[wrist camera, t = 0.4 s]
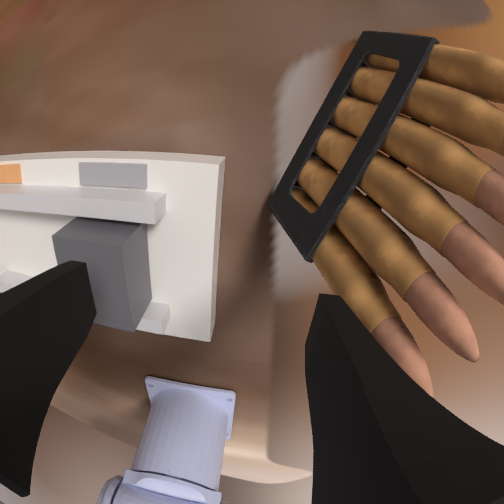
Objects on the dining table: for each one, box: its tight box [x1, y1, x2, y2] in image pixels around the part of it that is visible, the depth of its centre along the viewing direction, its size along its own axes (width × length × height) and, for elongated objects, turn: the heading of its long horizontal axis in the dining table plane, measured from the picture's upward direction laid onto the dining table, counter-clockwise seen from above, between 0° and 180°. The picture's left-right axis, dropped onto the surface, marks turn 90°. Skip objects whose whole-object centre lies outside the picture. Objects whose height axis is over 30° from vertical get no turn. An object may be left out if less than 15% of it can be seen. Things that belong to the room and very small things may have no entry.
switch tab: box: [52, 216, 152, 332], centre depth 15 cm, size 5×4×3 cm
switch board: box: [0, 151, 226, 342], centre depth 16 cm, size 11×18×4 cm, turn 84°
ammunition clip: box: [268, 31, 504, 397], centre depth 9 cm, size 11×2×12 cm, turn 154°
